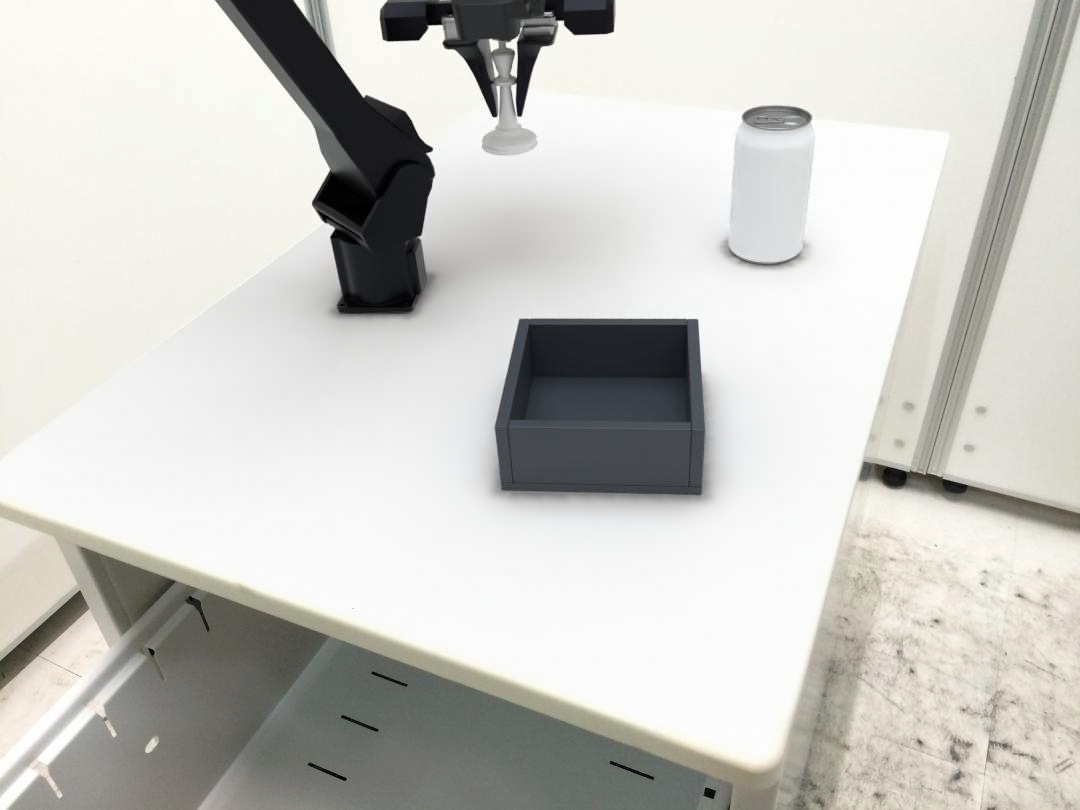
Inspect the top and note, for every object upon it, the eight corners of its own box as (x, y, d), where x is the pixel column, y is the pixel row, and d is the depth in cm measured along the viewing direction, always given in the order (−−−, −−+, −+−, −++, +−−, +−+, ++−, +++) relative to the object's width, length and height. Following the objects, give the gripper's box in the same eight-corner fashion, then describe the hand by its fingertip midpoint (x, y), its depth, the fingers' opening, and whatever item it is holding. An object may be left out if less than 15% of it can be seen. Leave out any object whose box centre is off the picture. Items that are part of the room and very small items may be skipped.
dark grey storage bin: (501, 490, 60) (494, 426, 57) (524, 376, 70) (519, 318, 67) (701, 494, 58) (705, 430, 55) (695, 378, 68) (698, 318, 65)
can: (802, 267, 81) (819, 131, 74) (726, 264, 82) (734, 130, 75) (801, 233, 86) (816, 103, 79) (729, 231, 87) (737, 102, 80)
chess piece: (506, 131, 86) (497, 16, 80) (548, 141, 83) (543, 23, 77) (470, 149, 83) (458, 30, 77) (513, 160, 80) (504, 38, 74)
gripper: (347, -58, 67) (381, 153, 76) (610, -71, 65) (613, 148, 74) (382, -86, 76) (409, 106, 85) (614, -98, 74) (616, 100, 83)
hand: (507, 115), depth 81 cm, fingers closed on chess piece
